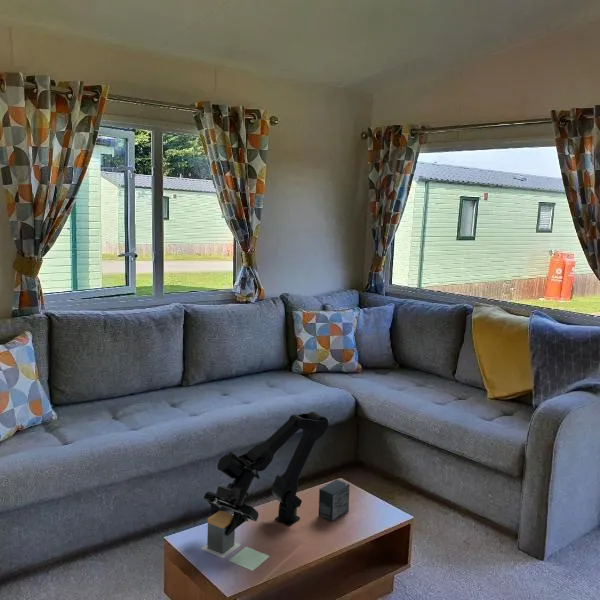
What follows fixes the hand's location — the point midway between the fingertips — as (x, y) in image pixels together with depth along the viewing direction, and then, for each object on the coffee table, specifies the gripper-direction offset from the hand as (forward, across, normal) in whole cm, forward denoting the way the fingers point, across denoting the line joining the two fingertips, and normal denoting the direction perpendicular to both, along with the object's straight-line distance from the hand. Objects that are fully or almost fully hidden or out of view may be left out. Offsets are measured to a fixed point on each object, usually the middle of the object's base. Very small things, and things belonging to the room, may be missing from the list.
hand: (218, 532), depth 183 cm
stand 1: (+4, 0, +6) cm, 7 cm away
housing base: (+3, 0, +5) cm, 6 cm away
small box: (-25, +19, +34) cm, 46 cm away
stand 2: (+4, +11, +6) cm, 13 cm away
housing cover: (-3, 0, -1) cm, 3 cm away
